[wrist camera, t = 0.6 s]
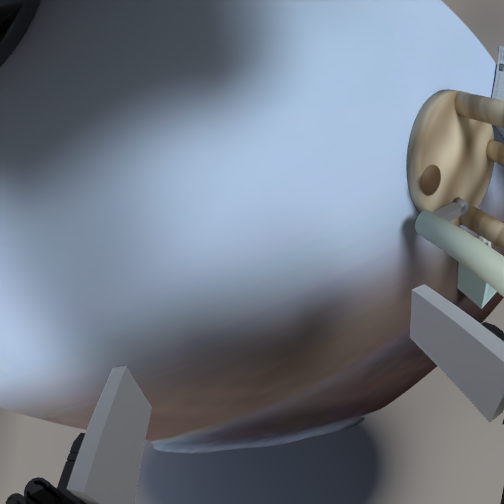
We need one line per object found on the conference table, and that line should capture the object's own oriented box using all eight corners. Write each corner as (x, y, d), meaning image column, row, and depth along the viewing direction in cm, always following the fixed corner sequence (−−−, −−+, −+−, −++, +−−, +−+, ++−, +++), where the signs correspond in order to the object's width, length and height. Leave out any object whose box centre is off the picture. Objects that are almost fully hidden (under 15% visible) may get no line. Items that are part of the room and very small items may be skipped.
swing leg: (461, 191, 28) (549, 242, 16) (459, 212, 30) (542, 266, 18) (414, 213, 27) (516, 282, 15) (413, 236, 29) (506, 308, 17)
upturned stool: (491, 138, 30) (576, 174, 16) (450, 236, 36) (530, 295, 22) (437, 60, 22) (561, 80, 8) (383, 188, 28) (510, 264, 14)
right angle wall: (488, 252, 44) (514, 270, 38) (455, 286, 44) (481, 308, 38) (491, 205, 37) (522, 222, 31) (456, 240, 38) (489, 263, 31)
